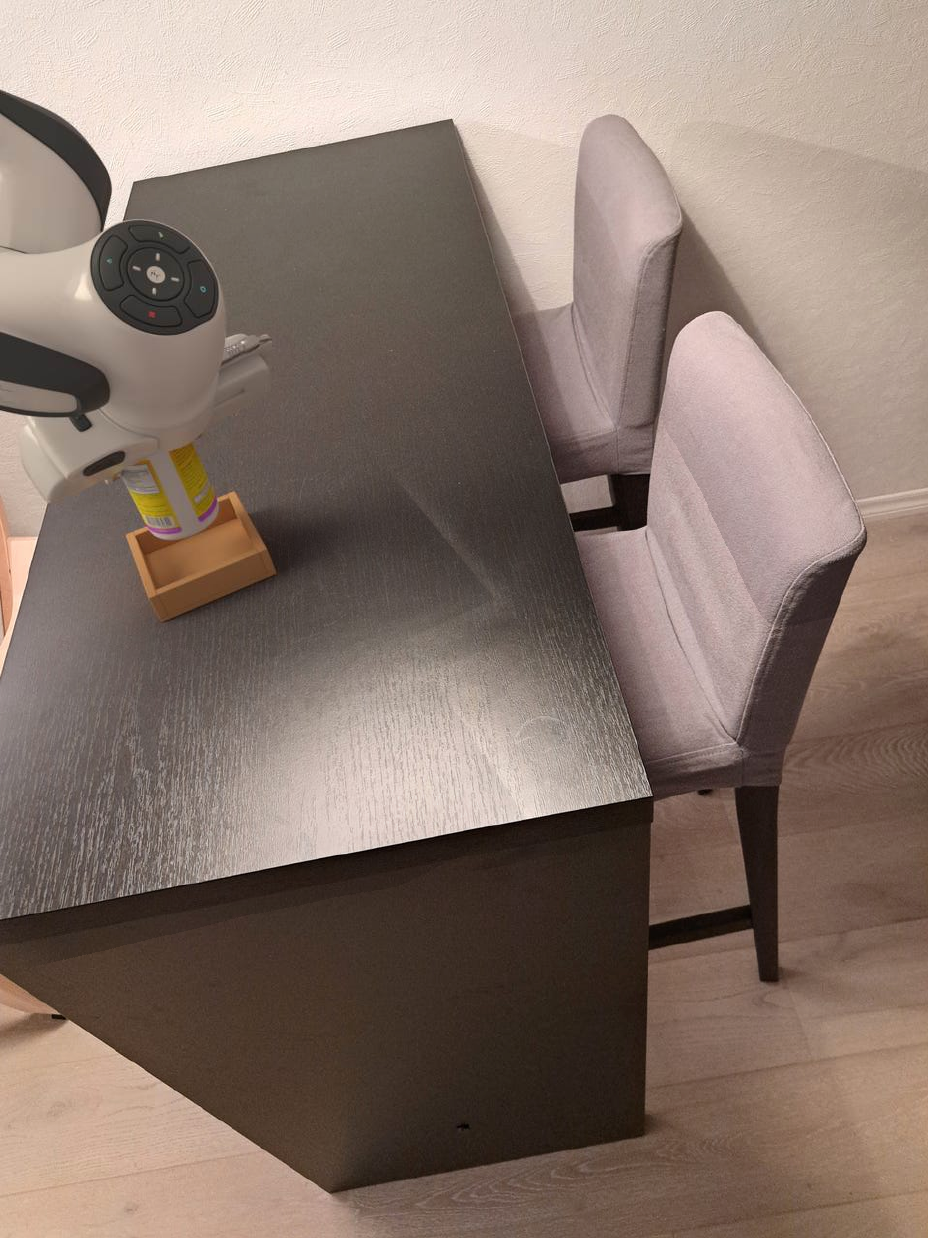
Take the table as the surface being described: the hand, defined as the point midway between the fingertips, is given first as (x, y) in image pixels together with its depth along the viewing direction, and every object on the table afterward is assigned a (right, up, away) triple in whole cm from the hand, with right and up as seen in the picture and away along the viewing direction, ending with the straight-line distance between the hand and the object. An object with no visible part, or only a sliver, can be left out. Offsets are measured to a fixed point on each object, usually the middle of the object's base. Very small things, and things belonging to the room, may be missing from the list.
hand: (151, 452), depth 81 cm
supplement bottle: (+2, -6, +5) cm, 7 cm away
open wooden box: (+2, -9, +8) cm, 13 cm away
